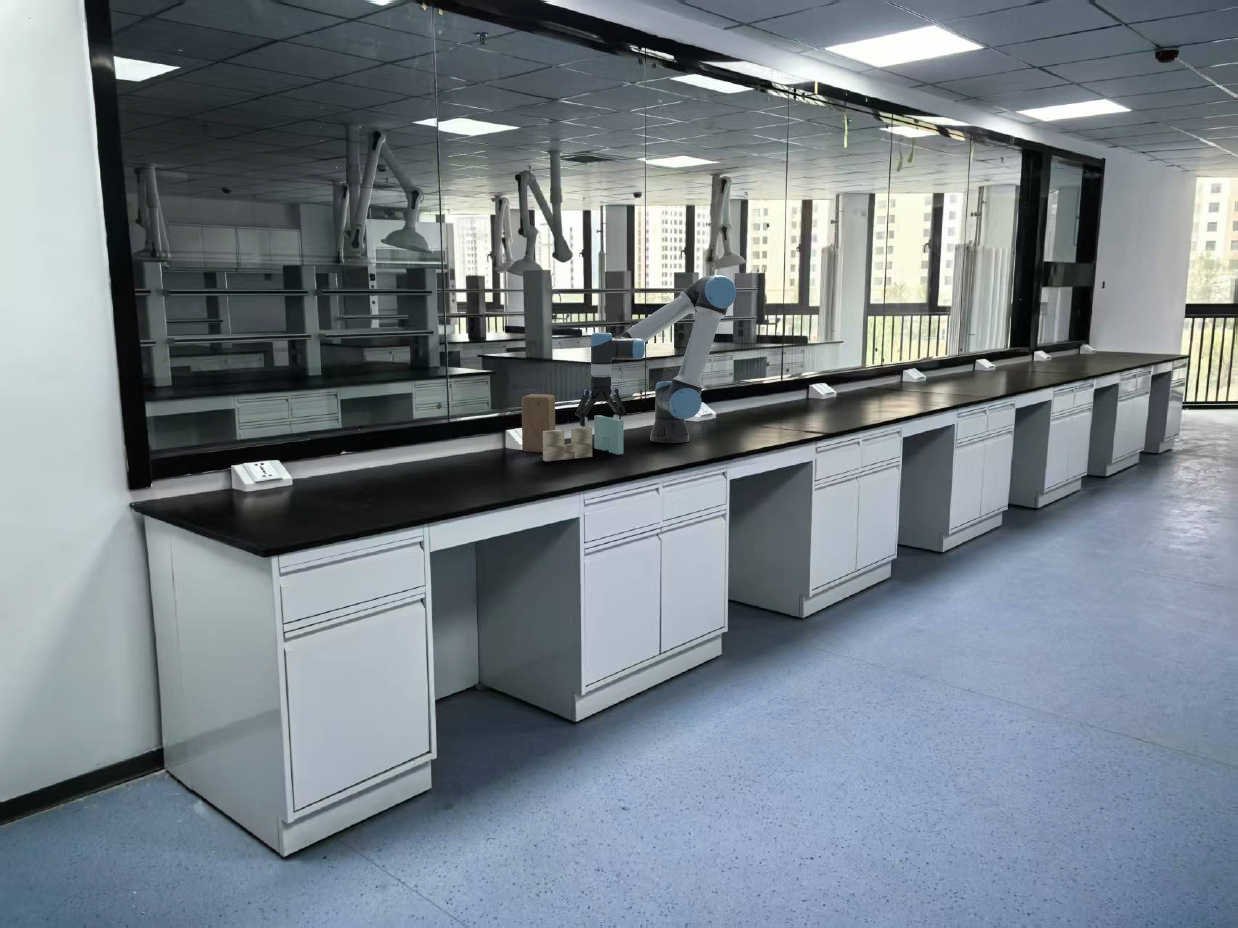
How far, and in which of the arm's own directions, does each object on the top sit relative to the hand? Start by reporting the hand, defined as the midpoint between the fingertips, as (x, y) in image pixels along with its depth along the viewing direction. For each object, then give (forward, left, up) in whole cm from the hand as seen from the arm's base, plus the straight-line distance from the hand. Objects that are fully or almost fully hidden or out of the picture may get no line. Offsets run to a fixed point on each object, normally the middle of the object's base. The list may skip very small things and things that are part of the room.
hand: (600, 434), depth 325 cm
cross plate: (-2, +5, -6) cm, 8 cm away
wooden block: (+22, -3, -6) cm, 23 cm away
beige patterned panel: (+16, +16, -6) cm, 24 cm away
